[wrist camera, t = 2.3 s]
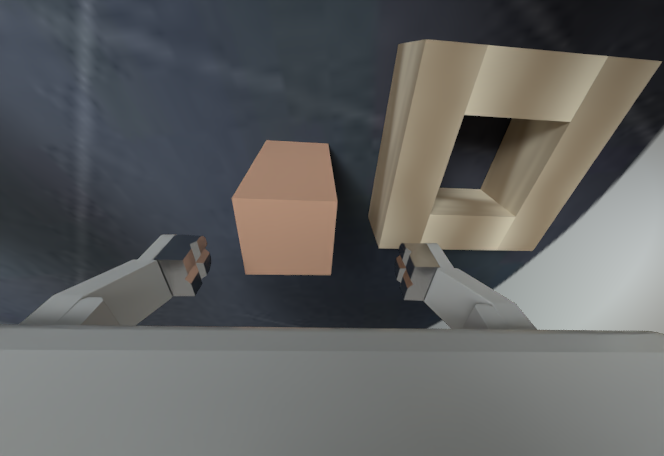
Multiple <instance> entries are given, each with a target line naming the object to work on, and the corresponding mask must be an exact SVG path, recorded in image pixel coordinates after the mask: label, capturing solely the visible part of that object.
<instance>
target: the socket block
mask: <svg viewBox="0 0 664 456" xmlns="http://www.w3.org/2000/svg"><path fill="white" fill-rule="evenodd" d="M661 63H662V61H654V60H643V59H632V58H621V57H611V56H600V55H589V54H579V53H568V52H557V51H546V50H536V49H525V48H514V47H503V46H493V45H482V44H471V43H460V42H450V41H439V40H428V39H425V40H419V41H414V42H408V43H403V44H398V50H397V56H396V61H395V67H394V72H393V78H392V84H391V89H390V95H389V101H388V106H387V112H386V118H385V123H384V129H383V135H382V140H381V146H380V152H379V157H378V163H377V169H376V174H375V180H374V186H373V191H372V197H371V202H370V208H369V214H368V218H369V221H370V224H371V227H372V230H373V233H374V236H375V238H376V241H377V244H378V247H379V248H387V249H399V246H400V244H401V243H437V244H438V245H439V246H440V248H441V249H448V250H510V251H533V250H534V248H535V247H536V245H537V244H538V242H539V241H540V239H541V238H542V237H543V235H544V234H545V232H546V231H547V229H548V228H549V226H550V225H551V223H552V222H553V221H554V219H555V218H556V216H557V215H558V213H559V212H560V210H561V209H562V207H563V206H564V204H565V203H566V202H567V200H568V199H569V197H570V196H571V194H572V193H573V191H574V190H575V188H576V187H577V185H578V184H579V183H580V181H581V180H582V178H583V177H584V175H585V174H586V172H587V171H588V169H589V168H590V166H591V165H592V164H593V162H594V161H595V159H596V158H597V156H598V155H599V153H600V152H601V150H602V149H603V147H604V146H605V145H606V143H607V142H608V140H609V139H610V137H611V136H612V134H613V133H614V131H615V130H616V128H617V127H618V126H619V124H620V123H621V121H622V120H623V118H624V117H625V115H626V114H627V112H628V111H629V109H630V108H631V107H632V105H633V104H634V102H635V101H636V99H637V98H638V96H639V95H640V93H641V92H642V90H643V89H644V88H645V86H646V85H647V83H648V82H649V80H650V79H651V77H652V76H653V74H654V73H655V71H656V70H657V69H658V67H659V66H660V64H661ZM464 115H472V116H487V117H502V118H512V120H511V122H510V124H509V126H508V128H507V131H506V133H505V135H504V137H503V140H502V142H501V144H500V146H499V149H498V151H497V153H496V155H495V158H494V160H493V162H492V164H491V167H490V169H489V171H488V173H487V175H486V178H485V180H484V182H483V184H482V187H481V189H459V188H439V187H440V184H441V181H442V178H443V175H444V172H445V170H446V167H447V164H448V161H449V158H450V155H451V152H452V149H453V146H454V143H455V140H456V137H457V135H458V132H459V129H460V126H461V123H462V120H463V117H464Z"/></svg>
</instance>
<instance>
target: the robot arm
mask: <svg viewBox="0 0 664 456" xmlns="http://www.w3.org/2000/svg"><path fill="white" fill-rule="evenodd" d="M206 246H207V242H206V239H205V237H203V236H196V235H176V234H163V235H161V236H160V237H159V238H158V239H157V240H156V241H155V242H154V243H153V244H152V245H151V246H150V247H149V248H148V249H147V250H146V251H145V252H144V253H143V254H142V255H141V256H140V258H139V259H138V260H131V261H129V262H126V263H124V264H122V265H120V266H118V267H115V268H113V269H111V270H109V271H106V272H104V273H102V274H100V275H97V276H95V277H93V278H91V279H89V280H86V281H84V282H82V283H80V284H77V285H75V286H73V287H71V288H68V289H66V290H64V291H62V292H60V293H57V294H55V295H53V296H52V297H51V298H50V299H48V300H47V301H46V302H45V303H44V304H42V305H41V306H40V307H39V308H38V309H37V310H35V311H34V312H33V313H32V314H31V315H29V316H28V317H27V318H26V319H25V320H24V321H22V322H21V323H20V324H0V456H664V334H662V333H658V332H651V331H593V330H591V331H590V330H537V329H536V328H535V327H534V325H533V324H532V323H531V322H530V320H529V319H528V318H527V317H526V316H525V314H524V313H523V312H522V311H521V309H520V308H519V307H518V306H517V304H515V303H514V302H512V301H510V300H509V299H507V298H506V297H504V296H502V295H500V294H499V293H497V292H496V291H494V290H492V289H491V288H489V287H487V286H486V285H484V284H483V283H481V282H479V281H478V280H476V279H474V278H473V277H471V276H469V275H468V274H466V273H465V272H463V271H461V270H460V269H458V268H454V267H453V266H452V264H451V263H450V261H449V260H448V258H447V257H446V255H445V254H444V252H443V251H442V249H441V248H440V246H439V245H438V244H437V243H401V244H400V246H399V250H398V251H399V253H400V255H399V256H398V257H397V258H396V261H395V276H396V279H397V280H398V281H399V282H400V283H401V284H400V287H399V288H400V290H401V293H402V296H403V299H404V300H418V301H424V302H425V303H426V304H427V305H428V306H429V307H430V308H431V309H432V310H433V311H434V312H435V313H436V314H437V315H438V316H439V317H440V318H441V319H442V320H443V321H444V322H445V323H446V324H447V325H448V326H449V327H450V328H451V329H401V328H318V327H221V326H135V325H137V324H138V323H139V322H141V321H142V320H143V319H145V318H146V317H147V316H149V315H150V314H151V313H152V312H154V311H155V310H156V309H158V308H159V307H160V306H162V305H163V304H164V303H166V302H167V301H168V300H170V299H171V298H172V296H195V295H196V294H197V292H198V290H199V288H200V287H201V285H202V280H201V279H202V278H203V277H205V276H206V275H207V274H208V272H209V270H210V266H211V256H210V253H209V252H208V251H207V250H206V249H205V247H206Z"/></svg>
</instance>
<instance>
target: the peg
mask: <svg viewBox="0 0 664 456" xmlns="http://www.w3.org/2000/svg"><path fill="white" fill-rule="evenodd" d="M232 202H233V208H234V213H235V219H236V224H237V230H238V235H239V241H240V246H241V252H242V257H243V263H244V268H245V274H246V275H331V268H332V257H333V246H334V235H335V224H336V213H337V202H338V201H337V195H336V189H335V183H334V176H333V170H332V164H331V158H330V152H329V145H328V144H325V143H306V142H288V141H269V140H266V142H265V143H264V145H263V147H262V148H261V150H260V152H259V153H258V155H257V157H256V158H255V160H254V162H253V164H252V165H251V167H250V169H249V170H248V172H247V174H246V175H245V177H244V179H243V180H242V182H241V184H240V185H239V187H238V189H237V190H236V192H235V194H234V195H233V197H232Z"/></svg>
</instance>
